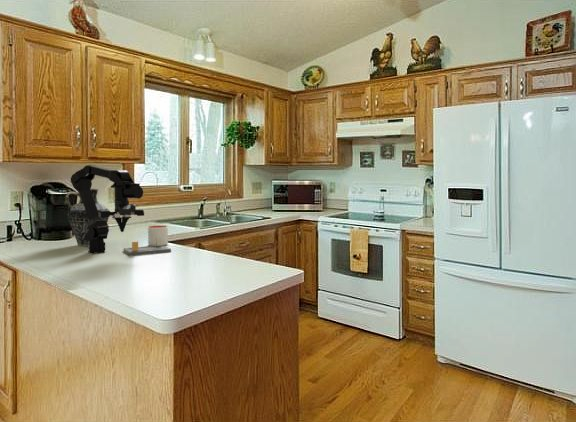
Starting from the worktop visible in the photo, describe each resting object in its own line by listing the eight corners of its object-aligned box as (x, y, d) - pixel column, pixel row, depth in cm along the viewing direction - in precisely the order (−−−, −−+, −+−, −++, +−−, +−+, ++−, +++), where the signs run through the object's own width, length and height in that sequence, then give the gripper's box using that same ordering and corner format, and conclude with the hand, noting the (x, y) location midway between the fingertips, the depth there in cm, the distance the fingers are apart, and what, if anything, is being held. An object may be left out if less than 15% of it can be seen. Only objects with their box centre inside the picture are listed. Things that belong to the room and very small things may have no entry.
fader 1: (133, 250, 185) (132, 242, 185) (132, 250, 186) (131, 241, 186) (138, 250, 186) (138, 241, 186) (137, 249, 188) (137, 241, 187)
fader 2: (156, 245, 199) (156, 237, 199) (155, 245, 200) (155, 237, 200) (161, 245, 200) (161, 237, 200) (160, 244, 202) (160, 236, 202)
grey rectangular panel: (129, 255, 183) (129, 252, 183) (123, 251, 193) (123, 248, 193) (170, 251, 193) (170, 248, 193) (162, 247, 204) (162, 244, 204)
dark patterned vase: (98, 241, 224) (96, 187, 221) (117, 244, 212) (115, 188, 210) (59, 245, 207) (57, 188, 204) (78, 250, 196) (76, 189, 193)
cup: (162, 247, 206) (161, 228, 206) (144, 246, 208) (144, 227, 208) (171, 244, 216) (171, 225, 215) (154, 243, 218) (154, 225, 217)
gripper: (102, 199, 169) (103, 235, 171) (147, 198, 180) (148, 232, 182) (97, 198, 178) (98, 232, 180) (140, 197, 189) (141, 229, 191)
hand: (122, 231), depth 183 cm, fingers closed
